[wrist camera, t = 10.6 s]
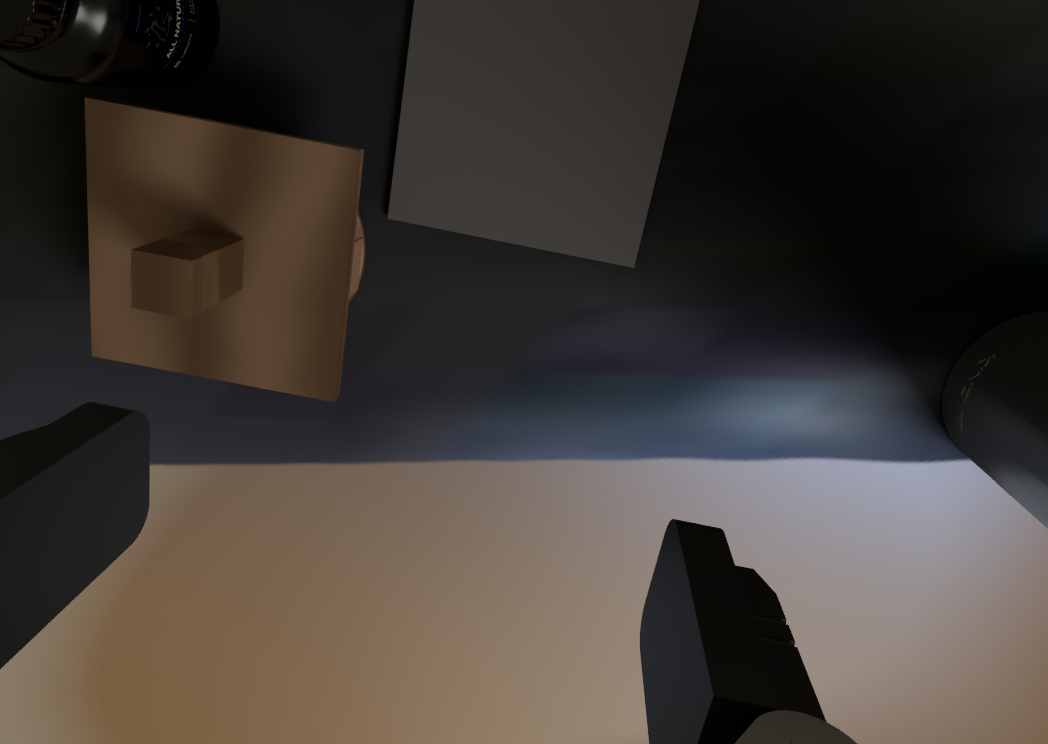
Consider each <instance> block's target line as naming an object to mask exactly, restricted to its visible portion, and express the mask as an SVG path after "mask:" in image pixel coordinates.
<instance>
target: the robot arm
mask: <svg viewBox="0 0 1048 744" xmlns="http://www.w3.org/2000/svg"><path fill="white" fill-rule="evenodd" d="M942 414H943V419H944V425H945V427H946V429H947V431H948V434H949V436H950V438H951V440H952V441H953V442H954V443H955V444H956V446H957V447H958V448H959V449H960V450H961V451H962V452H963V453H964V454H965V455H966V456H967V457H968V458H970V459H971V460H972V461H973V462H974V463H975V464H976V465H977V466H979V467H980V468H981V469H982V470H983V471H984V472H985V473H987V475H989V476H990V477H991V478H992V479H993V480H994V481H995V482H996V483H997V484H998V485H999V486H1000V487H1002V488H1003V489H1004V490H1005V491H1006V492H1007V493H1008V494H1010V495H1011V496H1012V497H1013V498H1014V499H1015V500H1016V501H1018V502H1019V503H1020V504H1021V505H1022V506H1023V507H1024V508H1025V509H1026V510H1027V511H1029V512H1030V513H1031V514H1032V515H1033V516H1034V517H1036V518H1037V519H1038V520H1039V521H1040V522H1041V523H1042V524H1043V525H1045V526H1046V527H1047V528H1048V311H1041V312H1035V313H1030V314H1025V315H1020V316H1018V317H1015V318H1013V319H1010V320H1007V321H1005V322H1002V323H1000V324H999V325H997V326H995V327H994V328H992V329H990V330H988V331H987V332H985V333H984V334H983V335H981V336H980V337H979V338H978V339H977V340H976V341H974V342H973V343H972V344H971V345H970V346H969V347H968V348H967V349H966V350H965V352H964V353H963V354H962V355H961V356H960V358H959V359H958V360H957V361H956V363H955V365H954V367H953V369H952V371H951V372H950V374H949V376H948V379H947V382H946V385H945V389H944V392H943V400H942ZM149 438H150V431H149V422H148V419H147V417H146V415H145V414H144V413H142V412H140V411H135V410H130V409H125V408H120V407H115V406H110V405H105V404H100V403H95V402H89V403H86V404H83V405H82V406H80V407H78V408H76V409H75V410H73V411H71V412H70V413H68V414H66V415H64V416H63V417H61V418H59V419H58V420H56V421H54V422H52V423H51V424H49V425H47V426H43V427H40V428H37V429H33V430H30V431H27V432H23V433H20V434H17V435H13V436H10V437H7V438H4V439H3V440H1V441H0V669H1V668H2V667H3V666H4V665H5V664H6V663H7V662H8V661H9V660H10V659H11V658H12V657H14V655H16V654H17V653H18V652H19V651H20V650H21V649H22V648H23V647H24V646H25V645H26V644H27V643H28V642H29V641H30V640H31V639H32V638H34V637H35V636H36V635H37V634H38V633H39V632H40V631H41V630H42V629H43V628H44V627H45V626H46V625H47V624H48V623H49V622H50V621H51V620H52V619H54V618H55V617H56V616H57V615H58V614H59V613H60V612H61V611H62V610H63V609H64V608H65V607H66V606H67V605H68V604H69V603H70V602H71V601H72V600H74V599H75V597H76V596H78V595H79V594H80V593H81V592H82V591H83V590H84V589H85V588H86V587H87V586H88V585H89V584H90V583H91V582H92V581H94V580H95V579H96V578H97V577H98V576H99V575H100V574H101V573H102V572H103V571H104V570H105V569H106V568H107V567H108V566H109V565H110V564H111V563H112V562H113V561H115V560H116V559H117V558H118V557H119V556H120V555H121V554H122V553H123V552H124V551H125V550H126V549H127V548H128V547H129V546H130V545H131V544H132V543H133V542H134V541H135V540H136V538H137V537H138V535H139V534H140V532H141V530H142V528H143V526H144V523H145V521H146V517H147V514H148V509H149ZM640 630H641V631H640V653H641V663H642V672H643V673H642V674H643V683H644V694H645V704H646V714H647V724H648V735H649V744H857V743H856V742H854V741H853V740H852V739H851V738H850V737H849V736H847V735H846V734H845V733H843V732H842V731H840V730H839V729H837V728H836V727H834V726H832V725H830V724H829V723H827V722H826V720H825V717H824V715H823V712H822V710H821V707H820V705H819V702H818V699H817V697H816V694H815V692H814V689H813V687H812V684H811V682H810V679H809V677H808V674H807V671H806V669H805V666H804V664H803V661H802V659H801V656H800V653H799V651H798V648H797V647H794V644H795V641H794V638H793V636H792V633H791V630H790V628H789V625H786V618H785V615H784V613H783V610H782V607H781V605H780V602H779V600H778V597H777V595H776V593H775V592H774V591H773V590H772V589H771V588H770V587H769V586H768V584H767V583H766V582H765V581H764V580H763V579H762V578H761V577H760V576H759V575H758V574H757V573H756V571H755V570H754V569H750V568H745V567H740V566H735V564H734V561H733V558H732V555H731V552H730V549H729V546H728V543H727V540H726V537H725V534H724V531H723V530H722V529H720V528H716V527H711V526H705V525H701V524H696V523H691V522H686V521H680V520H675V519H672V520H671V521H670V522H669V524H668V526H667V529H666V532H665V535H664V538H663V542H662V545H661V549H660V553H659V556H658V559H657V563H656V566H655V570H654V573H653V577H652V580H651V584H650V587H649V591H648V595H647V598H646V601H645V605H644V610H643V615H642V621H641V629H640Z"/></svg>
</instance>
